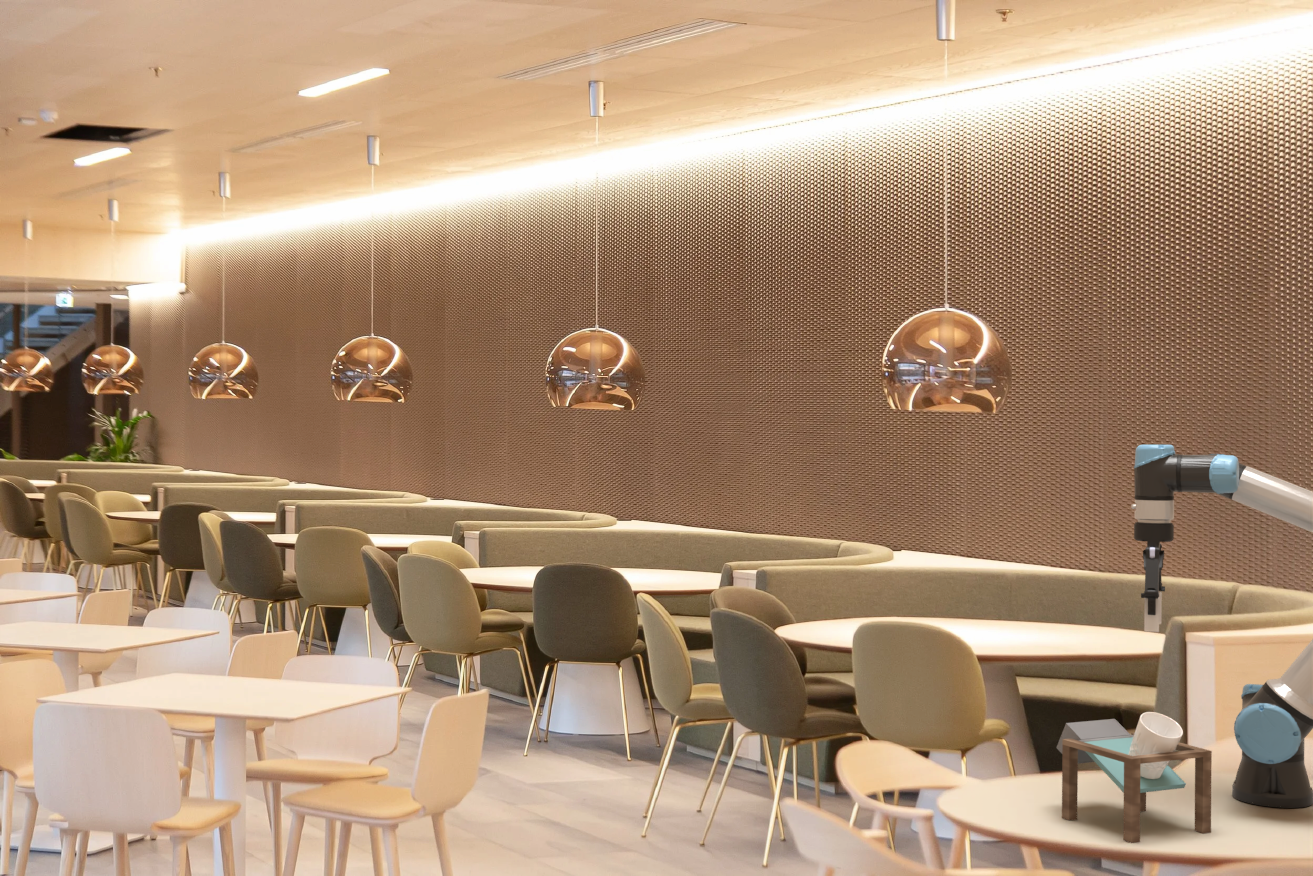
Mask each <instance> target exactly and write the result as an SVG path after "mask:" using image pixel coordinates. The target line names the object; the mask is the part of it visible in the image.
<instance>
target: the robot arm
mask: <svg viewBox="0 0 1313 876" xmlns="http://www.w3.org/2000/svg"><path fill="white" fill-rule="evenodd" d="M1134 454H1135V455H1134V457H1135V458H1134V466H1133V469H1134V472H1133V473H1134V474H1133V476H1134V479H1133V480H1134V481H1133V482H1134V503H1132V504H1131V505H1130V507H1131V509H1132V510H1134V519H1135V520H1137V521H1136V522H1135V523H1134V524H1133V531H1134V532H1133V538H1134V540H1135V541H1136V542H1147V543H1146V544H1147V545H1146V547H1145V549H1143V550H1142V559H1143V569H1144V571H1145V576H1144V591H1143V592H1141V593H1140V599H1144V605H1143V606H1144V609H1143V610H1144V615H1143V616H1144V617H1143V619H1144V620H1143V621H1144V625H1143V627H1144V628H1143V631H1144V632H1151V633H1160V625H1162V624H1163V623H1162V620H1163V619H1162V617H1163V616H1162V614H1163V613H1162V609H1163V608H1162V607H1163V605H1162V604H1163V600H1162V597H1163V593H1162V592H1166V586H1165V585H1163V582H1162V571H1163V568H1164V559H1165V550H1163V549H1162V548H1163V546H1162V543H1168V542H1173V541H1174V537H1175V536H1174V534H1175V532H1174V531H1175V530H1174V529H1175V525H1174V523H1173V522H1172V521H1173V520H1174V519H1175V496H1174V495H1175V492H1177V493H1197V494H1199V493H1200V494H1201V493H1203V494H1206V493H1207V494H1216V495H1218V496H1221V497H1223V498H1226V499H1229V500H1231V501H1234V502H1237V503H1238V504H1241V505H1244V506H1246V507H1249V508H1252V509H1255V510H1257V511H1259V512H1262V513H1263V514H1265V515H1269V516H1271V517H1273V518H1276V519H1277V520H1281V521H1283V522H1286V523H1288V524H1291V525H1293V526H1295V527H1298V528H1301V529H1302V530H1305V531H1308V532H1311V533H1313V491H1312V490H1310V489H1307V488H1304V487H1302V486H1299V485H1296V484H1294V483H1291V482H1290V481H1286V480H1284V479H1282V478H1278V476H1277V477H1276V476H1274V475H1271V474H1269V473H1266V472H1264V471H1261V470H1258V469H1256V468H1254V467H1251V466H1249V465H1245V464H1243V463H1242V462H1241V463H1240V462H1239V458H1238V457H1237V456H1235V455H1232V454H1231V455H1230V454H1224V453H1222V454H1220V453H1210V454H1179V453H1176V451H1175V446H1174V445H1172V444H1140V445H1138V446H1137V447H1136V448H1135V453H1134ZM1240 697H1241V700H1242V701H1241V706H1242V707H1241V711H1240V712H1239V713H1238V714H1237V716H1236V717H1235V721H1234V723H1233V726H1234V727H1233V730H1234V731H1233V733H1234V736H1235V740H1236V742H1237V745H1238V746H1239V748H1240V750H1241V759H1240V763H1239V766H1238V769H1237V772H1236V776H1235V779H1234V780H1233V782H1232V785H1231V786H1232V790H1231V791H1232V794H1231V795H1232V797H1233V798H1234V799H1236V800H1238V801H1240V802H1244V803H1247V804H1251V805H1256V806H1262V807H1271V808H1279V809H1280V808H1282V809H1284V808H1285V809H1286V808H1287V809H1288V808H1289V809H1294V808H1295V809H1299V808H1306V807H1309V806H1312V805H1313V788H1312V787H1311V784H1310V780H1309V776H1308V772H1307V768H1306V765H1305V764H1306V763H1305V738H1307V736H1308V735H1309V733H1311V731H1312V730H1313V638H1312V639H1311V640H1310V642H1309V643H1308V644H1307V645H1306V646H1305V648H1304V649H1303V650H1302V651H1301V652H1300V654H1299V655H1298V656H1297V657H1296V659H1295V660H1294V661H1293V662H1292V663H1291V664H1290V665H1289V667H1288V668H1287V669H1286V670H1285V672H1284V673H1283V674H1282V675H1281V676H1280V677H1279V678H1272V679H1271V678H1270V679H1267V680H1266V681H1265V682H1264V683H1263V684H1259V683H1246V684H1244V685H1243V687H1242V693H1241V695H1240Z"/></svg>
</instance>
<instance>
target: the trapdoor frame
mask: <svg viewBox="0 0 1313 876" xmlns="http://www.w3.org/2000/svg"><path fill="white" fill-rule="evenodd" d="M1134 733H1135V732H1131V733H1130V735H1134ZM1078 749H1080V750H1083V751H1087V752H1090V753H1093V754H1097V755H1100V756H1104V757H1107V758H1111V759H1114V760H1118V761H1121V762H1124V793H1123V841H1124V840H1126V842H1127V841H1128V843H1130V842H1131V844H1132V843H1133V844H1134V843H1140V842H1141V813H1142V812H1146V811H1147V792H1145V793H1140V764H1143V763H1152V762H1162V761H1169V762H1170V761H1178V760H1179V761H1181V760H1190V759H1194V832H1197V833H1200V834H1208V833H1212V761H1213V760H1212V752H1213V750H1210V749H1206V748H1202V747H1198V746H1195V745H1192V744H1191V745H1190V744H1187V743H1182V742H1179V743H1178V745H1177V747H1176V749H1175V751H1174V752H1167V753H1157V754H1147V755H1137V756H1131V755H1128V754H1124V753H1121V752H1117V751H1113V750H1110V749H1106V748H1103V747H1099V746H1096V745H1092V744H1089V743H1085V742H1082V741H1078V740H1075V739H1063V741H1062V753H1061V754H1062V755H1061V757H1062V758H1061V759H1062V764H1061V767H1062V769H1061V771H1062V773H1061V775H1062V777H1061V781H1062V782H1061V783H1062V784H1061V818H1062V819H1064V820H1067V821H1075V820H1078V782H1079V781H1078V778H1079V777H1078V776H1079V775H1078V774H1079V773H1078V772H1079V771H1078V770H1079V768H1078V766H1079V764H1078Z"/></svg>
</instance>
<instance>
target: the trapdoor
mask: <svg viewBox="0 0 1313 876" xmlns="http://www.w3.org/2000/svg"><path fill="white" fill-rule="evenodd" d="M1133 736H1134V735H1131V733H1129V732H1128V730H1126V728H1125V727H1123V726H1122V725H1121V724H1120V723H1119V721H1118V720H1116V719H1115V718H1110V719H1098V720H1088V721H1087V720H1086V721H1075V722H1066V723H1065V725H1064V728H1063V730H1062V732H1061V735H1060V737H1059V740H1058V743H1057V745H1056V747H1055V748H1056V749H1057V750H1058V752H1059V753H1060V754H1062V741H1063V739H1075V740H1078V741H1082V742H1085V743H1089V744H1092V745H1096V746H1099V747H1103V748H1106V749H1110V750H1113V751H1117V752H1121V753H1124V754H1128V753H1129V751H1130V746H1131V743H1132V740H1133ZM1086 763H1087V764H1088V763H1095V764H1096V765H1097V766H1098V767H1099V768H1100V769H1101V770H1102V771H1103V772H1104V773H1105V775H1106V776H1108V777H1109V778H1110V780H1111V781H1112V782H1113V784H1115V786H1117V787H1118V789H1119V790H1120V791H1121V792H1122V793H1123V794H1124V762H1121V761H1118V760H1114V759H1111V758H1107V757H1104V756H1100V755H1097V754H1093V753H1090V752H1087V751H1083V750H1080V749H1078V765H1079V764H1086ZM1186 785H1187V783H1186V782H1185V781H1184V780H1183V779H1182V778H1181V777H1180V776H1179V775H1178V774H1177V773H1176V771H1174V770H1173V768H1171V766H1170V765H1169V764H1168V765H1167V766H1166V768H1165V770H1164V772H1163V774H1162V776H1161V777H1160V778H1158V779H1147V778H1144V777H1141V776H1140V793H1145V792H1146V793H1152V792H1153V793H1154V792H1160V791H1169V790H1177V789H1178V790H1179V789H1185V787H1186Z"/></svg>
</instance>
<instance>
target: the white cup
mask: <svg viewBox="0 0 1313 876" xmlns="http://www.w3.org/2000/svg"><path fill="white" fill-rule="evenodd" d="M1133 733H1134V736H1133V740H1132V743H1131V746H1130V751H1129V753H1128V755H1131V756H1137V755H1147V754H1157V753H1167V752H1176V750H1175V749H1176V747H1177V745H1178V743H1180V741H1181V739H1182V736H1183V735H1184V731H1183V728H1182V726H1181V725H1180V724H1179V723H1178V722H1177V721H1176V720H1174V719H1173V718H1171V717H1170V716H1167V715H1165V714H1162V713H1160V712H1155V711H1154V712H1153V711H1146V712H1143V713H1142V714H1140V716H1139V719H1138V722H1137V725H1136V728H1135V732H1133ZM1169 763H1170V761H1162V762H1152V763H1143V764H1140V776H1141V777H1144V778H1147V779H1158V778H1160V777H1161V776H1162V774H1163V772H1164V770H1165V768H1166V766H1167V765H1168V766H1169Z"/></svg>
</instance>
